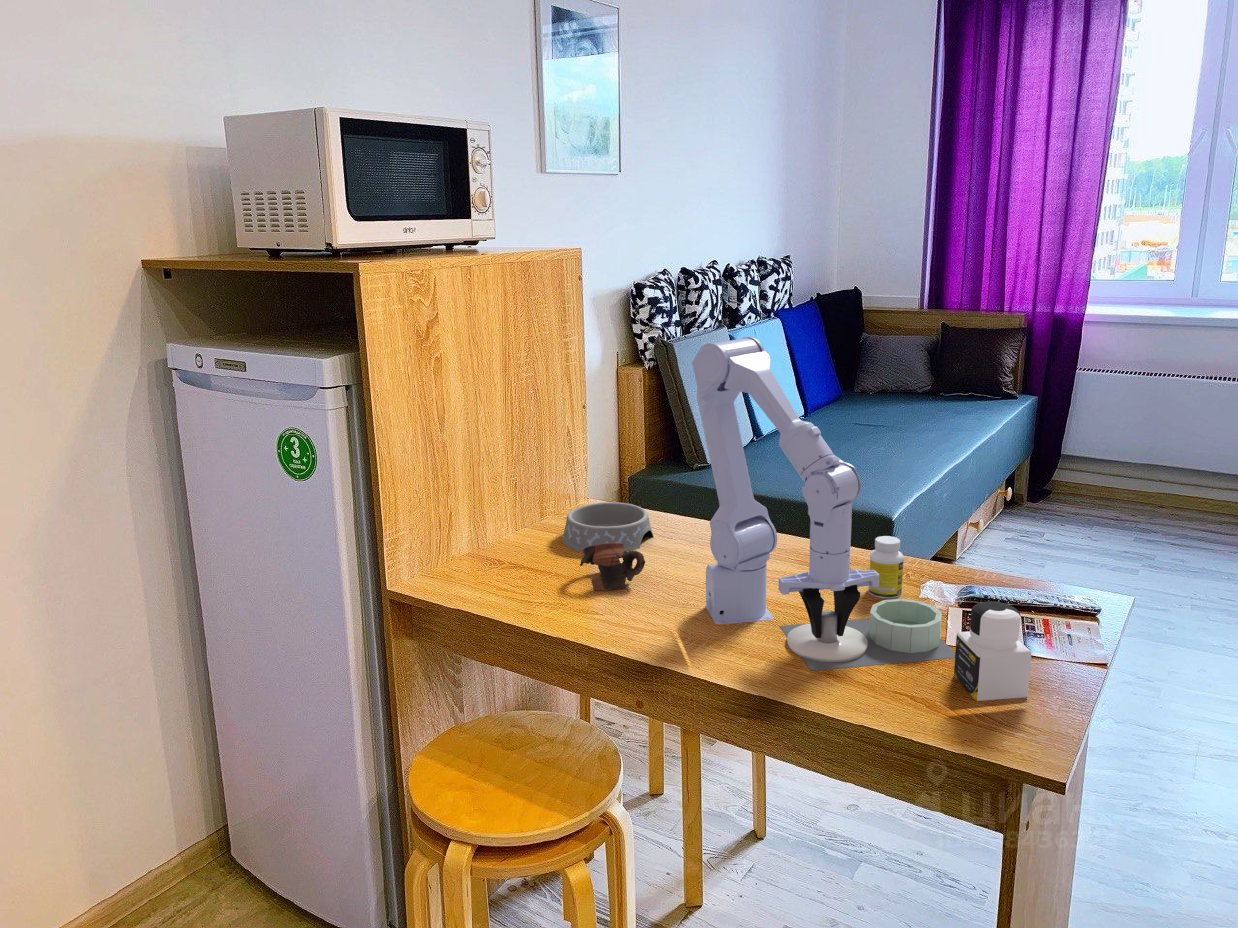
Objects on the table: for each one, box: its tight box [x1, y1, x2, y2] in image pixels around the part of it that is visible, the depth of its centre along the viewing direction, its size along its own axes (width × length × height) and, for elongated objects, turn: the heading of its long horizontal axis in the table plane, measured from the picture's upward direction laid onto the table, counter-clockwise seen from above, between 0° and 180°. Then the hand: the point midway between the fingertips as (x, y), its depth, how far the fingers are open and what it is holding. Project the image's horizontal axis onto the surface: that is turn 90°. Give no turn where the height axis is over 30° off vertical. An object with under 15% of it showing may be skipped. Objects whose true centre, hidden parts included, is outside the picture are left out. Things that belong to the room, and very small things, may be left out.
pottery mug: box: [579, 543, 646, 592], centre depth 170 cm, size 12×10×8 cm
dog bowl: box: [562, 501, 654, 553], centre depth 191 cm, size 17×18×5 cm
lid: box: [786, 609, 868, 662], centre depth 142 cm, size 12×12×5 cm
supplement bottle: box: [867, 535, 905, 599], centre depth 159 cm, size 5×5×10 cm
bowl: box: [869, 598, 943, 653], centre depth 143 cm, size 10×10×4 cm
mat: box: [779, 617, 955, 672], centre depth 143 cm, size 22×15×1 cm
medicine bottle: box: [953, 600, 1032, 702], centre depth 127 cm, size 7×7×12 cm
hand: (827, 634), depth 142 cm, fingers closed on lid, 3 cm apart
